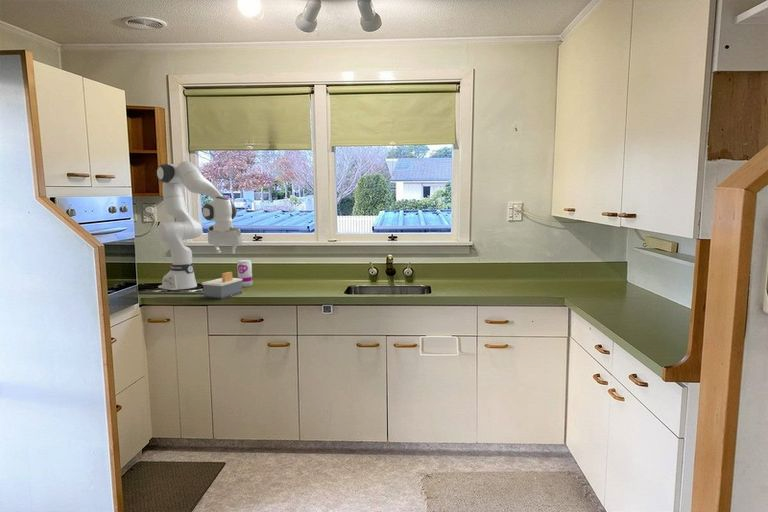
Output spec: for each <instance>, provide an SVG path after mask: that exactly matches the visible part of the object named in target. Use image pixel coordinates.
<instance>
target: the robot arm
mask: <svg viewBox="0 0 768 512" xmlns="http://www.w3.org/2000/svg"><path fill="white" fill-rule="evenodd" d="M156 176H157V177H156V178H157V179H158V180H159V181H160V182H161V183H162V196H163V197H162V198H163V202H164V204H163V205H164V207H165V211H166V213H167V214H168V215H169V216H171V217H173V218H175V221H166V222H162V223H160V224H159V225H158V226H157V229H156V234H157V237H158V238H159V240H161V241H163V242H164V243H165V244H166V245H167V246H168V249H169V251H170V255H171V263H172V264H169V268H170V269H169V271H168V272H167V273H166V274H165V275H163V277H162V281H161V283H162V284H160V285H158V286H157V287H158V289H164V290H170V291H178V290H188V289H193V288H197V287H198V283H197V281H196V276H195V275H196V274H195V272H194V269H195V264H194V262H193V251H192V250H191V248H190V247H188V246H186V245H185V244H184V243H183V241H184V240H194V239H196V238H199V237H201V235H202V233H203V227H202V224H201V223H200V222H199V221H197V220H196V219H195V218H193V217H192V215H191V214H190V212H189V211H188V209H187V204H186V201H185V200H186V199H185V196H184V192H183V186H184V187H185V188H186V189H187V190H188V191H189V192H191V193H194V194H199V195H203V196H208V197H210V198H211V199H212V201H210V202H208V203H205V204H204V205H203V207H202V209H201V210H202V211H201V212H202V216H203V218H204V219H205V220H206V221H209V222H210V221H211V222H212V221H213V222H214V224H213V225H209V226H208V227H207V231H208V233H207V243H208V244H209V245H213V246H214V248H215V250H216V254H221V253H222V250H221V248H220V246H221V245H222V246H223V245H224V246H231V250H230V254H233V255H234V254H236V249H237V247H238V246H241V245H242V244H243V238H242V231H241V229H240V228H239V227H234V223H233V221H234V218H235V217H236V215H237V212H238V209H237V207H236V206H235V204H234V203H233V202H232V201H231V199H230V197H227V196H226V195H225V194H223V193H222V191H221V190H220V188H218V187H217V186H216V185H215V184H214V183H212V182H211V181H209V180H208V179H207V178H206V177H205V176H204V175H203V174H202V173H201V171H200V169H198V167H197V166H196V165H195V164H194V163H193V162H191V161H189V160H183V161H181V162H180V163H164V164H163V163H162V164H160V165H159V166H158V167H157V170H156Z"/></svg>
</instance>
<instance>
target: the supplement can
mask: <svg viewBox="0 0 768 512" xmlns="http://www.w3.org/2000/svg"><path fill="white" fill-rule="evenodd" d="M236 265H237V266H236V269H237V278H241V279H243V280H242V281H241V285H242V288H244V287H251V286H253V284H254V281H253V280H254V279H253V265H252V261H251V259H239V260H238V261H237V263H236Z"/></svg>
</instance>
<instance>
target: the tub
mask: <svg viewBox="0 0 768 512" xmlns="http://www.w3.org/2000/svg"><path fill="white" fill-rule="evenodd" d="M202 287H203V298H205V299H216V300H217V299H218V300H224V299H226V298H230V297H232V296H231V295H234V296H236V295H235V294H237V295H239V293H240V294H243V287H242V285H241V281H238V282H235V283H231V284H227V285H224V286H212V285H202ZM229 296H230V297H229Z"/></svg>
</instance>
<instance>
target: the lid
mask: <svg viewBox="0 0 768 512" xmlns="http://www.w3.org/2000/svg"><path fill="white" fill-rule="evenodd" d="M242 280H243V279H241V278H238V277H233V272H232V271H227V272H222V273H221V278H216V279H212V280H207V281H203V282H201V286H203V285H212V286H224V285H227V284H231V283H235V282H238V281H242Z"/></svg>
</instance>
